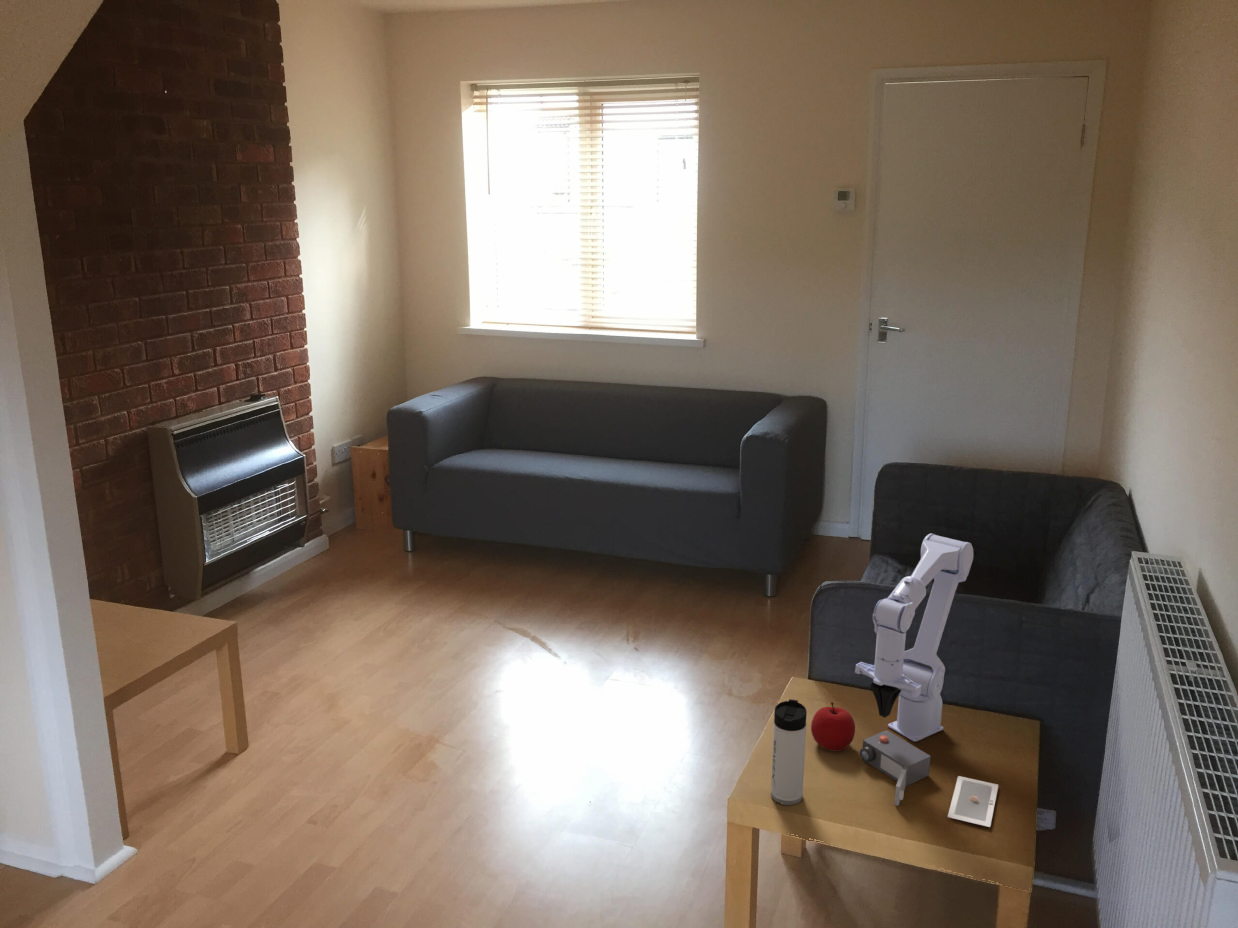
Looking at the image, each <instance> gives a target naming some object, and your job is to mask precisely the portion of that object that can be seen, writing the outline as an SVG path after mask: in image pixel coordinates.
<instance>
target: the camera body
mask: <svg viewBox="0 0 1238 928" xmlns="http://www.w3.org/2000/svg"><path fill="white" fill-rule="evenodd" d="M859 755H860V758H861V760H862V761H863V762H865V763H867V764H869V765H871V766H872V767H873V768H875V769H877V770H878V771H880V772H881V773H883V774H885V775H886V776H888V777H889V778H891V779H893V780H894V781H895V782H896V783H897V782H898V779H899V776H900V774H901V771H902V767H904V766H905V767H907V780H906V787H908V786H910V785H912V784H914V783H916V782H918V781H921V780H922V779H925V778H927V777H929V776H930V765H931V758H932V756H931V755H930V754H929V753H926V752H924V751H923V750H921V749H919V748H918V747H916V746H914V745H913V744H911V743H909V742H907V741H906V740H904V739H902V738H900V736H897V735H896V734H894V733H892V732H891V731H889V730H885V729H884V730H883V731H881V732H879V733H876V734H874V735H872V736H870V737H867V738H865V739H864V738H863V740H862V748H860V750H859Z"/></svg>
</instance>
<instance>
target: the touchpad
mask: <svg viewBox="0 0 1238 928" xmlns="http://www.w3.org/2000/svg"><path fill="white" fill-rule="evenodd" d="M998 790H999V784H996V783H992V782H988V781H987V782H986V781H983V780H978V779H974V778H970V777H965V776H960V775H958V776H957V778H956V783H955V787H954V790H953V794H952V798H951V802H950V807H949V810H948V814H947V818H950V819H955V820H958V821H963V822H967V823H971V824H975V825H979V826H983V827H988V828H991V825H992V819H993V815H994V809H995V804H996V800H997V794H998Z"/></svg>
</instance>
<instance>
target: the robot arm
mask: <svg viewBox="0 0 1238 928" xmlns="http://www.w3.org/2000/svg"><path fill="white" fill-rule="evenodd" d="M973 561H974V548H973V545H972V542H968V541H962V540H958V539H953V538H949V537H945V536H940V535H937V534H935V533H929V534H927V535H926V536H925V537H924V538H923V540H922V543H921V547H920V560H919V561H918V563H917V564H916V567H915V568H914V569H913V572H912V574H911V575H910V576H909V575H908V576H905V577H902V579H901V580H900V581H899V582H898V584H897V585H896V586H895V588H894V589H893V590H892V592H891V593H890V594H889V595H888V597H885V598H883V599H879V600H878V601H877V603H876V604H875V606H874V609H873V613H872V622H873V624H874V633H875V634H876V641H875V653H874V664H869V663H866V662H862V661H860V662H858V663H856V664H855V669H854V674H857V675H861V674H862V675H864V676H866V677H869V678H871V679H872V680H873V682H872V683H870V685H869V687H870V690H871V692H872V694H873V695H874V697H875V701H876V705H877V708H878V715H879V716H880V717H883V718H887V717H888V716H890V714H891V713H892V709H893V706H894V704H895V702H896V700H897V699H898V701H897V702H898V703H897V704H898V705H897V714H896V715H897V718H896V720H895V721H892V722H889V723H888V724H887V726H888V728H890V729H891V730H893V731H895V732H897V733H898V734H900V735H901V736H903V737H904V738H905V737H906V739H908V740H910V741H912V742H914V743H915V742H918V741H922V740H923V739H925V738H927V737H930V736H932V735H934V734H937V733H938V732H941V731H943V730H944V727H943V726H942V725H941V723H942V711H943V699H942V696H941V692H942V690H943V685H944V680H945V679H944V677H945V674H946V673H945V672H946V667H945V665H944V663H943V662H942V660H941V659H940V658H939V656H938V655H937V652H938V649H939V646H940V642H941V639H942V636H943V634H944V633H943V632H944V629H945V626H946V623H947V619H948V616H949V613H950V611H951V607H952V605H953V604H952V603H953V600H954V596H955V594H956V590H957V588H958V586H959V583H962V582H966V580H967V577H968V576H969V573H970V570H971V567H972V563H973ZM932 580H933V584H932V587H931V591H930V593H929V597H928V600H927V604H926V607H925V610H924V613H923V617H922V620H921V623H920V626H919V630H918V633H917V636H916V639H915V642H914V646H913V647H912V648H909V649H907V650H905V649H906V648H905V647H906V640H907V639H906V637H907V631H908V630H909V629H910V627H911V626H912V625H911V624H912V623H913V619H914V617H915V616H916V615H915V614H916V610H917V608H918V607H919V605H920V604H921V602H922V601H923V600H924V598H925V597H926V595H927V589H926V587H927V586H928V585H929V583H930V582H931V581H932ZM914 662H915V663H914ZM917 663H918V664H917ZM920 664H921V665H920ZM923 665H925V666H923ZM930 667H931V668H930Z"/></svg>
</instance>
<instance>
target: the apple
mask: <svg viewBox="0 0 1238 928" xmlns="http://www.w3.org/2000/svg"><path fill="white" fill-rule="evenodd" d="M830 704H831V706H825V707H824V706H823V707H821V708H819V709H818V710H817V711H816V712H815V713H814V716H813V717H812V720H811V724H810V725H811V727H810V730H811V735H812V737H813V739H814V741H815V742H816V743H817V744H818V745H819V746H820V747H822V749H824V750H828V751H832V752H833V751H834V752H839V751H842V750H845V749H846V748H848V747H849V746H850V744H851V743H852V742H853V740H854V738H855V734H856V723H855V720H854V718H853V716H852V715H851V713H849V711H848V710H846V709H844V708H841V707H838V706H837V707H836V706H834V702H830Z"/></svg>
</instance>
